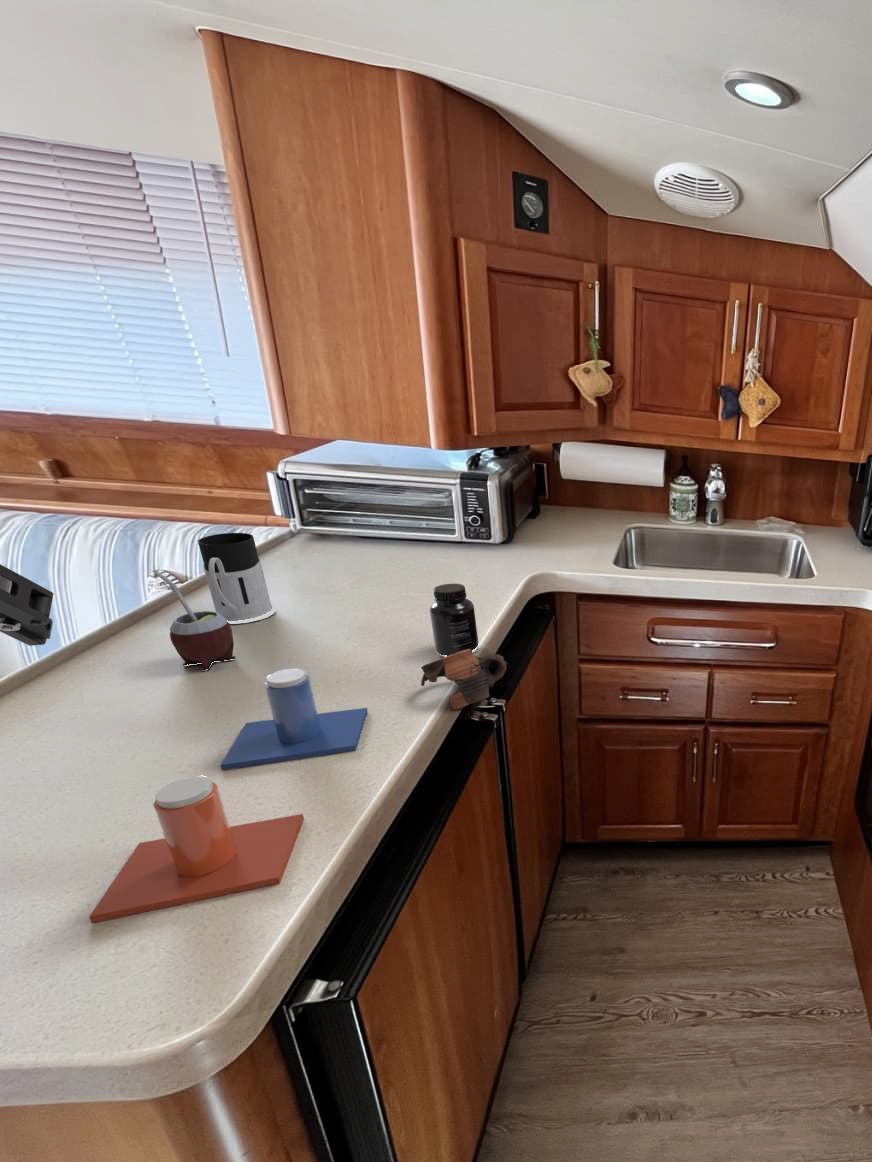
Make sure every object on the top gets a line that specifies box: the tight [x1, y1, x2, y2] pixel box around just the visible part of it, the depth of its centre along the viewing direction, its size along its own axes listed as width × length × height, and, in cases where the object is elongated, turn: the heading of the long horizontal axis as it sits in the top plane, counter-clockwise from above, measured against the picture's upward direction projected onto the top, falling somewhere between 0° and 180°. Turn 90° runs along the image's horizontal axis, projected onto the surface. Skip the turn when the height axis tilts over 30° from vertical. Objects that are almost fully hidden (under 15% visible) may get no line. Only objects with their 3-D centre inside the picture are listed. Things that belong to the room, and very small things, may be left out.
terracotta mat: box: [89, 813, 305, 924], centre depth 65 cm, size 14×10×1 cm
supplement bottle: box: [429, 583, 479, 656], centre depth 110 cm, size 7×7×12 cm
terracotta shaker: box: [153, 775, 237, 877], centre depth 63 cm, size 5×5×9 cm
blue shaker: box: [264, 667, 321, 744], centre depth 84 cm, size 5×5×9 cm
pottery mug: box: [420, 649, 508, 711], centre depth 99 cm, size 12×10×8 cm
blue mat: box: [220, 707, 369, 771], centre depth 86 cm, size 14×10×1 cm
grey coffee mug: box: [197, 532, 273, 621], centre depth 113 cm, size 9×14×15 cm, turn 25°
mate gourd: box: [152, 569, 236, 670], centre depth 99 cm, size 8×8×15 cm
